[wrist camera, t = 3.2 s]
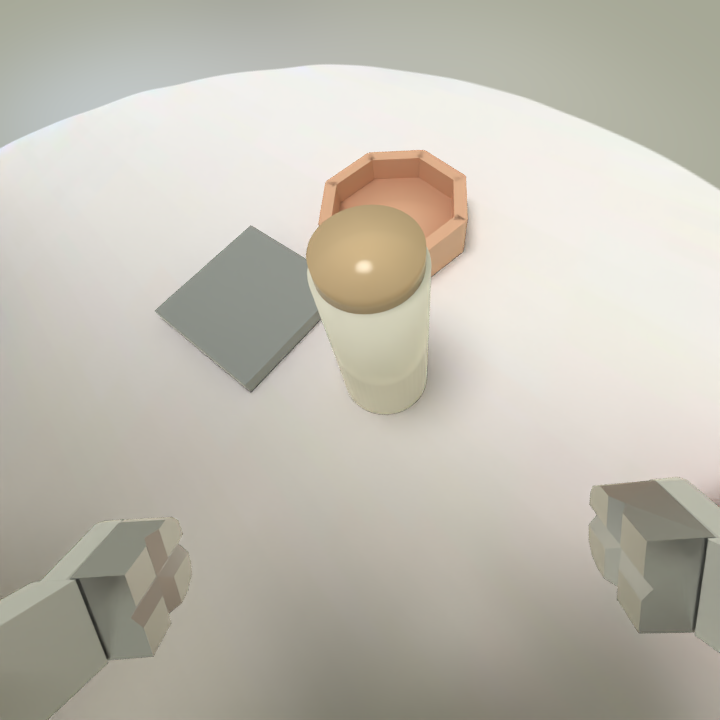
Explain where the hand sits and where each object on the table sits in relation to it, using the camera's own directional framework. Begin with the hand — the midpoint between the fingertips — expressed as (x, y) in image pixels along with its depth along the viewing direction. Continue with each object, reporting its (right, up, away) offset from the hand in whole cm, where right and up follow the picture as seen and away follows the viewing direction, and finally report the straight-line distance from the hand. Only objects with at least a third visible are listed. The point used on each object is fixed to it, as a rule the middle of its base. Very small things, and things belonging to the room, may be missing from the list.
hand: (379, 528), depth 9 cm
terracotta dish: (+2, +12, +22) cm, 25 cm away
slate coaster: (-8, +7, +20) cm, 23 cm away
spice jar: (+1, +2, +17) cm, 17 cm away
